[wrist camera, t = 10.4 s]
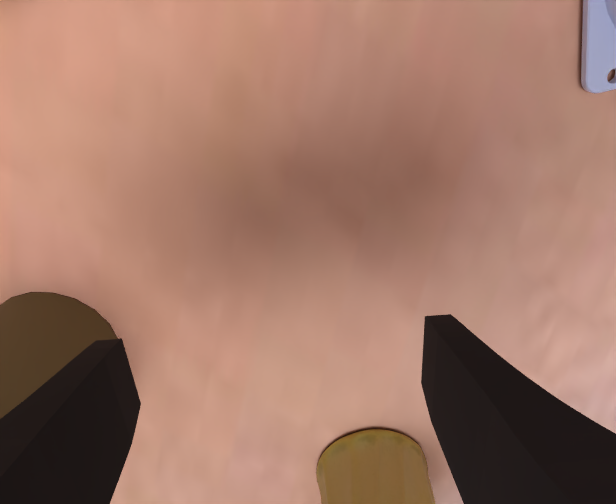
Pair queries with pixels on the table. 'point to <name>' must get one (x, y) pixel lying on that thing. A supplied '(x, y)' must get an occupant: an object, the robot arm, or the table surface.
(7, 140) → the table surface
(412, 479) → the vase
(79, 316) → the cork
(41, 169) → the table surface
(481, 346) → the robot arm
